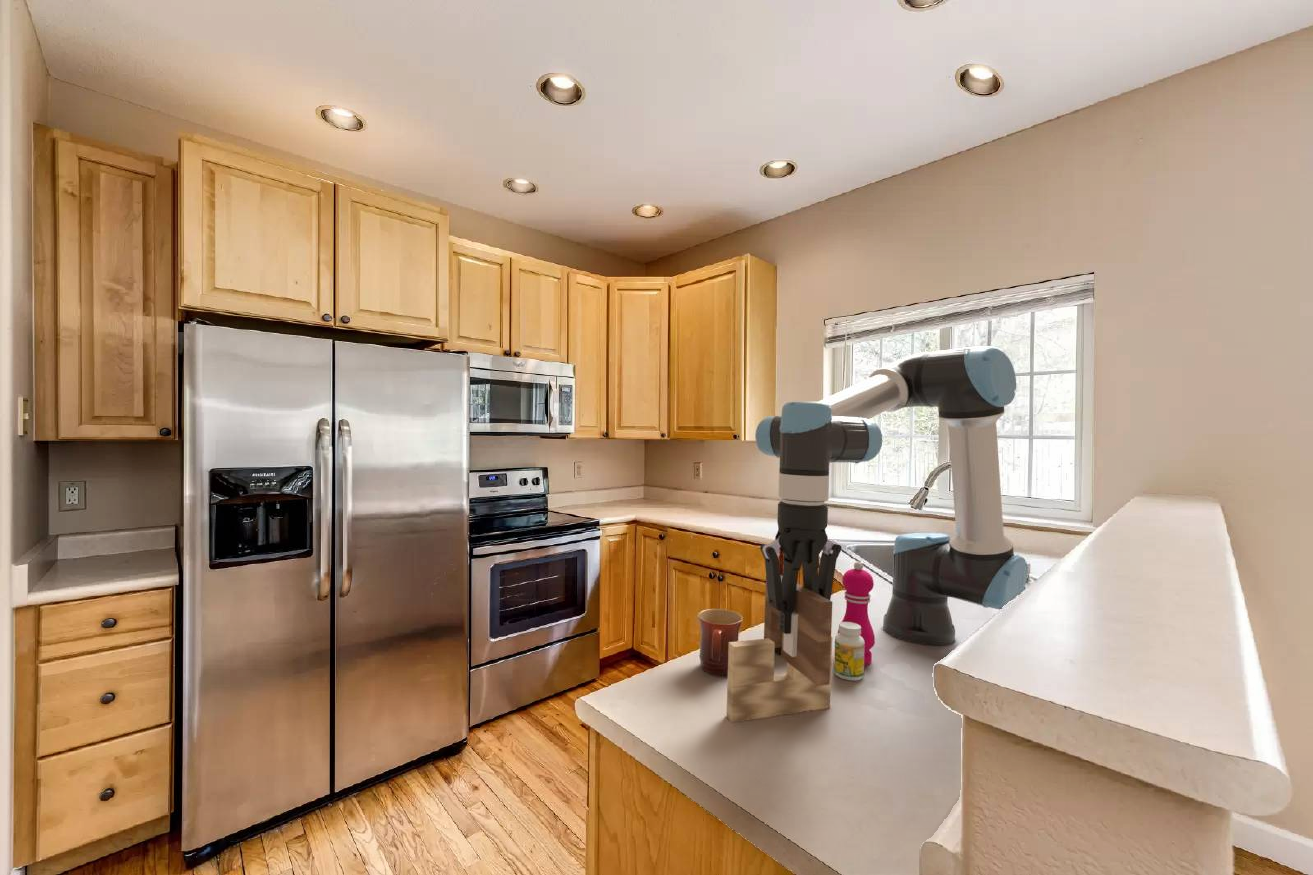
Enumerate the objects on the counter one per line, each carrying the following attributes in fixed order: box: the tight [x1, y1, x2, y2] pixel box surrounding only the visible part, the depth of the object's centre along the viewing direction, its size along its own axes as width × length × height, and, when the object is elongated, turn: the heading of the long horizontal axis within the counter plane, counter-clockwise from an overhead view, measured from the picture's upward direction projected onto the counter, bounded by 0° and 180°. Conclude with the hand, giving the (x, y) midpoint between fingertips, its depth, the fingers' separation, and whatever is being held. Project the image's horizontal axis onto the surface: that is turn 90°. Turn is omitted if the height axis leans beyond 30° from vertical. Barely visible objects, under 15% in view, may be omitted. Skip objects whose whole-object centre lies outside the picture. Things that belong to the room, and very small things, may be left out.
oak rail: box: [726, 636, 833, 723], centre depth 92 cm, size 18×2×12 cm, turn 107°
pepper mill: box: [837, 561, 876, 666], centre depth 114 cm, size 7×7×20 cm
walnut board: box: [763, 574, 833, 686], centre depth 88 cm, size 2×16×12 cm, turn 17°
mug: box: [696, 608, 744, 677], centre depth 106 cm, size 12×9×10 cm
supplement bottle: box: [833, 621, 865, 682], centre depth 106 cm, size 5×5×10 cm
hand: (797, 652), depth 87 cm, fingers closed on walnut board, 2 cm apart
